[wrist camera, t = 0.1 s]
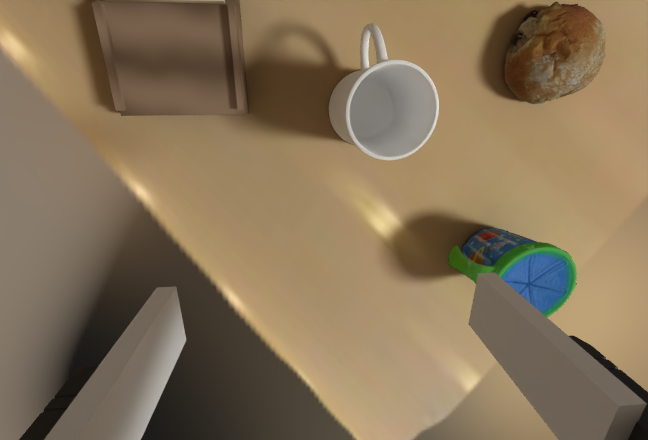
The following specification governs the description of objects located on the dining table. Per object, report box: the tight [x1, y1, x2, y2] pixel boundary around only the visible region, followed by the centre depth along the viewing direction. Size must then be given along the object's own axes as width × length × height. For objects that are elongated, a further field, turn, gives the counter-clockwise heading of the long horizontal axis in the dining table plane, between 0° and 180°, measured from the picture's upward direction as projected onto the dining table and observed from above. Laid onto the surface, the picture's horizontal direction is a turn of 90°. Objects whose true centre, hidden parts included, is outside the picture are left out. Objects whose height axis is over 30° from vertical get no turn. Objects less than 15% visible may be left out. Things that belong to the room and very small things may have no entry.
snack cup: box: [448, 228, 577, 317], centre depth 41 cm, size 16×10×10 cm
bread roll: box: [504, 2, 605, 104], centre depth 36 cm, size 10×10×8 cm
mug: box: [329, 24, 439, 160], centre depth 32 cm, size 12×8×12 cm
